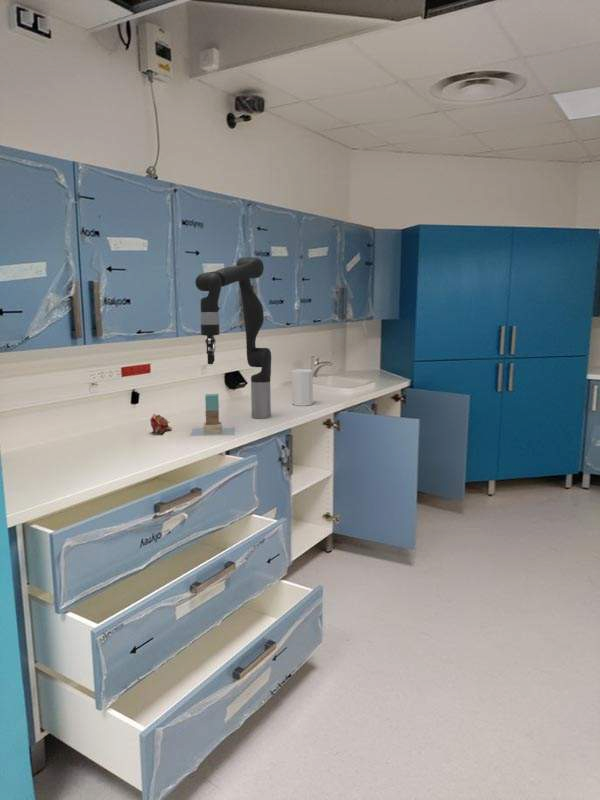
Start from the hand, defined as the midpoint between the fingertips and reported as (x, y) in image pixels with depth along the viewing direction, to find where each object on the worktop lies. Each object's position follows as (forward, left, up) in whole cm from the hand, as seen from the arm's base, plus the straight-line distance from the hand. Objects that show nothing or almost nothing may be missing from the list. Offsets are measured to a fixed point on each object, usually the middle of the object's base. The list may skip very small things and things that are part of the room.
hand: (211, 363), depth 238 cm
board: (+1, 0, -30) cm, 30 cm away
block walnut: (+3, 0, -25) cm, 25 cm away
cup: (-66, +44, -30) cm, 85 cm away
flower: (-4, -22, -30) cm, 37 cm away
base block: (+3, 0, -29) cm, 29 cm away
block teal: (+3, 0, -19) cm, 19 cm away
